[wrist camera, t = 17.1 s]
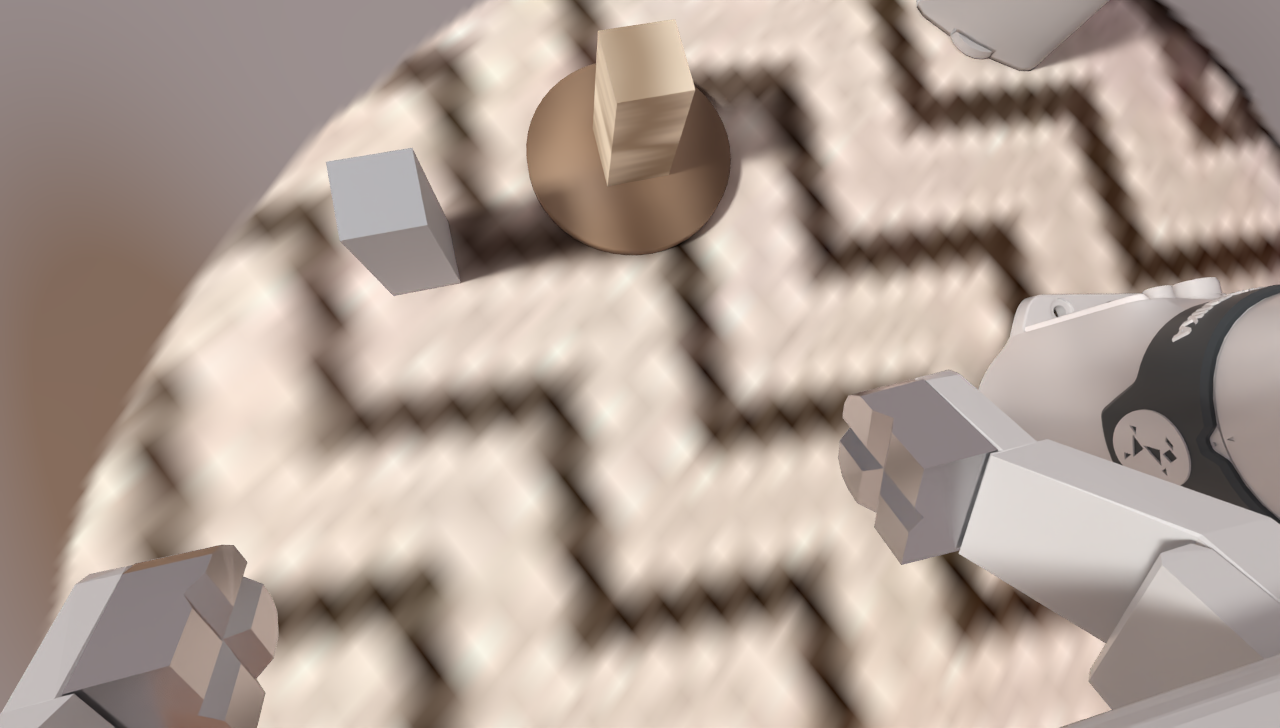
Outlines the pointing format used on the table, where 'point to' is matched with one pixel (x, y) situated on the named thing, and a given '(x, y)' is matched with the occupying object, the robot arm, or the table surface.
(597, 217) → the walnut board
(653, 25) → the birch block
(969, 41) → the tall pale column
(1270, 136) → the table surface
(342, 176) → the slate grey block
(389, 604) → the table surface
